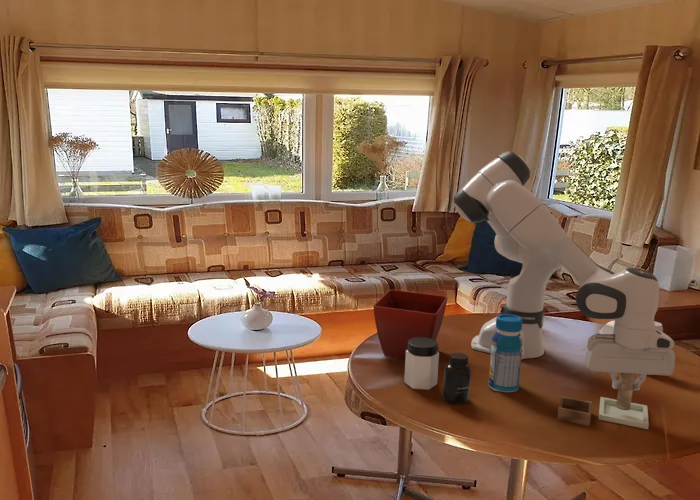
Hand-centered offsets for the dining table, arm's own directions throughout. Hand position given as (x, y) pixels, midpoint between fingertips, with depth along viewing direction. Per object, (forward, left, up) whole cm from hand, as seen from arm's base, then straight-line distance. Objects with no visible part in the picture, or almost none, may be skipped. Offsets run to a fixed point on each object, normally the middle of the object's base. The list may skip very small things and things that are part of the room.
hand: (625, 388), depth 152 cm
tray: (0, 0, -8) cm, 8 cm away
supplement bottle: (-40, -9, -8) cm, 42 cm away
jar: (-51, -4, -8) cm, 52 cm away
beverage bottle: (-30, +4, -8) cm, 31 cm away
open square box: (-11, -6, -8) cm, 15 cm away
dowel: (0, 0, -5) cm, 5 cm away
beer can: (+6, +35, -8) cm, 36 cm away
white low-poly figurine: (0, +58, -8) cm, 59 cm away
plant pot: (-61, +16, -8) cm, 63 cm away
